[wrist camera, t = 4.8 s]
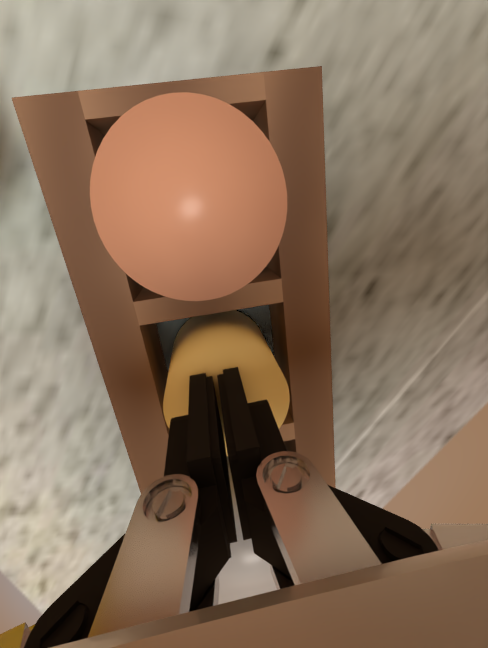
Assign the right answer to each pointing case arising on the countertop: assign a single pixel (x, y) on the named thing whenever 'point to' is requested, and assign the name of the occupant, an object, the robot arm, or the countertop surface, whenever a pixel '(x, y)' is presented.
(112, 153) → the pink cylinder
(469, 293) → the countertop surface
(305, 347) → the wooden compartment tray
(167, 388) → the yellow short cylinder
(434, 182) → the countertop surface
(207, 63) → the countertop surface
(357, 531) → the robot arm
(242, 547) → the grey short rounded cylinder
